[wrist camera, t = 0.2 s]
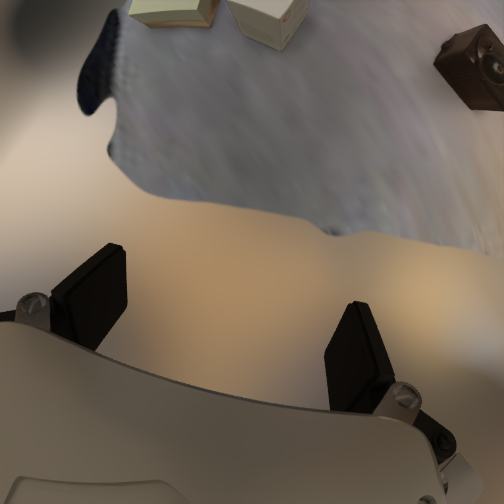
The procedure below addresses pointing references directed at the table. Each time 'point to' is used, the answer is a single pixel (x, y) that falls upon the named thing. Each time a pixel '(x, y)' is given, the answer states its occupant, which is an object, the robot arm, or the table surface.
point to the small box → (269, 19)
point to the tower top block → (168, 10)
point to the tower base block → (188, 23)
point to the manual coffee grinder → (475, 68)
